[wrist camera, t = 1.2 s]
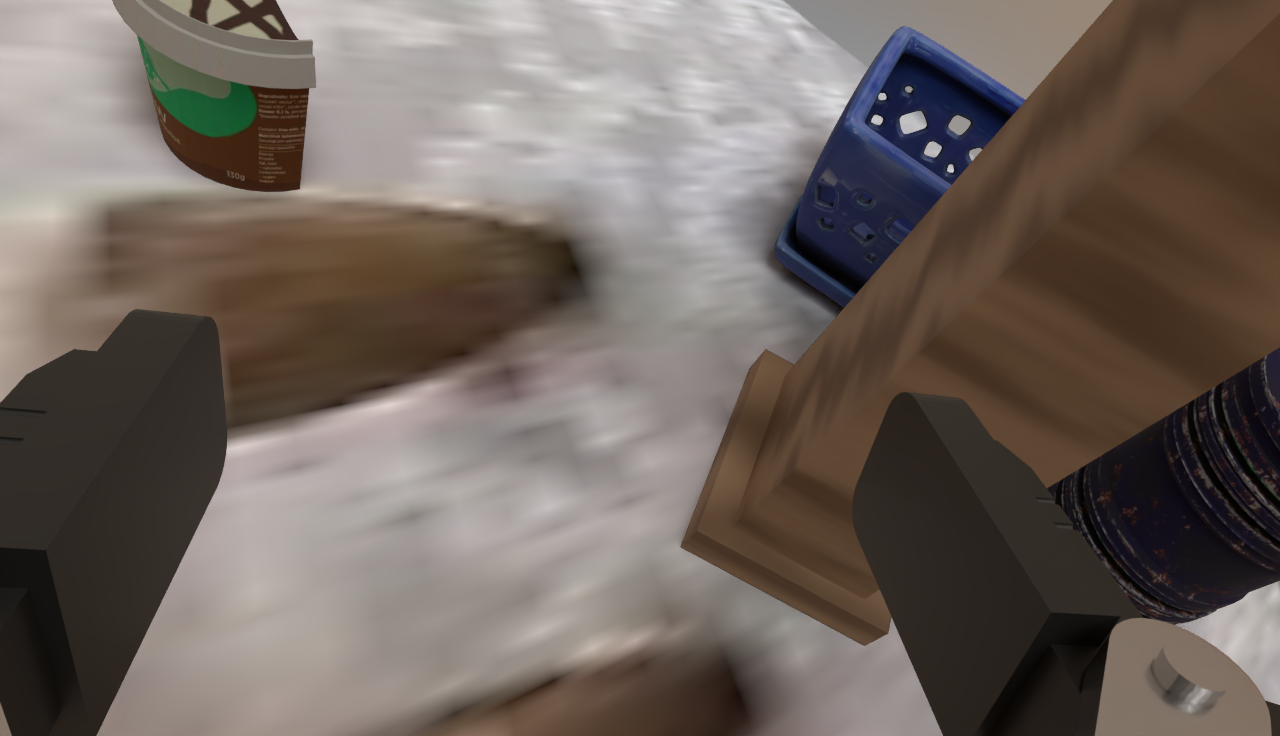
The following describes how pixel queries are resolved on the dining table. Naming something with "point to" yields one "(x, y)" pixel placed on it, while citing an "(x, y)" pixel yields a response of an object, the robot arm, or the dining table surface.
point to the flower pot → (888, 162)
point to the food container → (227, 87)
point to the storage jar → (1189, 500)
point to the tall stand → (1032, 295)
